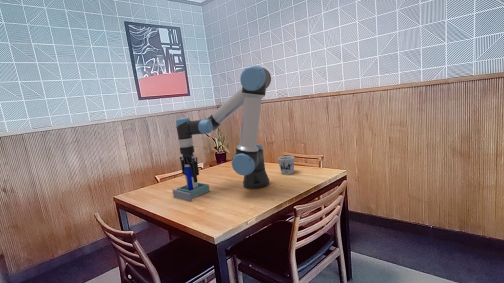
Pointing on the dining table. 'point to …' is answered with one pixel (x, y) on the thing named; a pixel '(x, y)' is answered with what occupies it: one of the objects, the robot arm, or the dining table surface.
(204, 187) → the teal open drawer
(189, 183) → the beverage can
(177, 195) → the block
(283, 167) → the mug
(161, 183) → the dining table surface
